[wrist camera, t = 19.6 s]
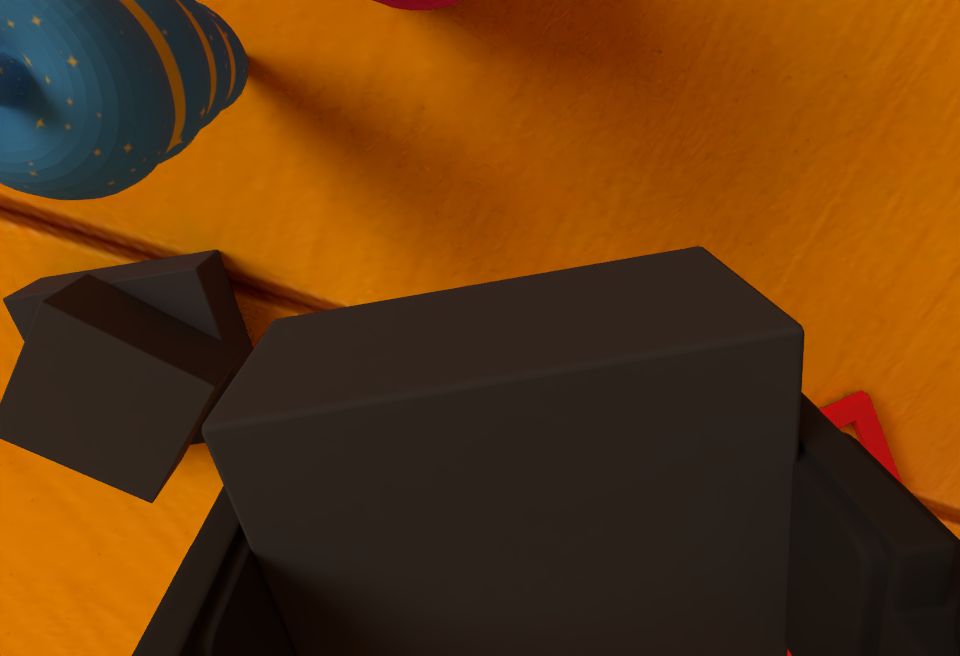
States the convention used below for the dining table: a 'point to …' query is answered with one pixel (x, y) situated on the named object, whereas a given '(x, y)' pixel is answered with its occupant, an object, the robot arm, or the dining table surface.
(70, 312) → the pad
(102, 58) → the ornament
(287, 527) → the pad
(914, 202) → the dining table surface
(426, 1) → the pepper mill
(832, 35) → the dining table surface
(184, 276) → the base pad
